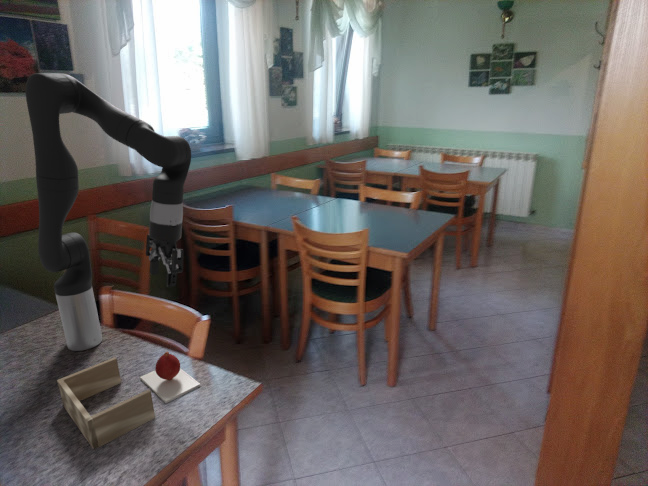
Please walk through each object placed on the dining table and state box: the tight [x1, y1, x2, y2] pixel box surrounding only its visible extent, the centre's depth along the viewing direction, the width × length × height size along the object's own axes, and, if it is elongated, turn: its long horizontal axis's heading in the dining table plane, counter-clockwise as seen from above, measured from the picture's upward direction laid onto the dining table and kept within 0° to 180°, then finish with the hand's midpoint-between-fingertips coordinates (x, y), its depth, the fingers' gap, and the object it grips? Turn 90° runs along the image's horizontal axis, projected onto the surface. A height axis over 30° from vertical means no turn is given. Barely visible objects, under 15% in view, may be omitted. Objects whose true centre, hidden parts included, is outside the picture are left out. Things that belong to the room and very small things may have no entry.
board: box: [139, 367, 201, 404], centre depth 110 cm, size 14×9×1 cm, turn 45°
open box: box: [56, 356, 156, 450], centre depth 99 cm, size 20×13×7 cm, turn 45°
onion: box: [154, 350, 181, 380], centre depth 109 cm, size 6×6×8 cm
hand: (162, 280), depth 112 cm, fingers open, 8 cm apart
